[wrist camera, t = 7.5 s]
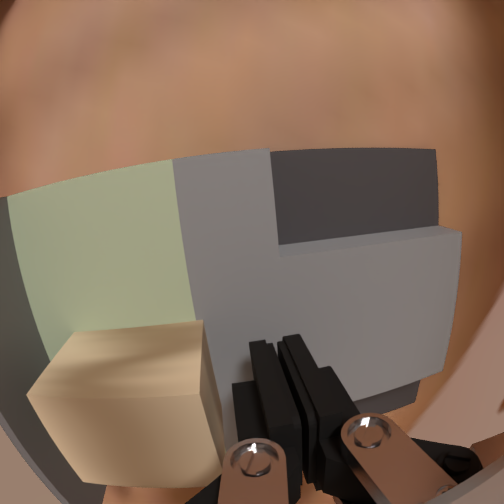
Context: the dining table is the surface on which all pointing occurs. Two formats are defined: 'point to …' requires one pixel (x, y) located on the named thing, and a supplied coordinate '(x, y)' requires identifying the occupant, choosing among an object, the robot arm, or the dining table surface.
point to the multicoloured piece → (231, 273)
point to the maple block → (135, 406)
